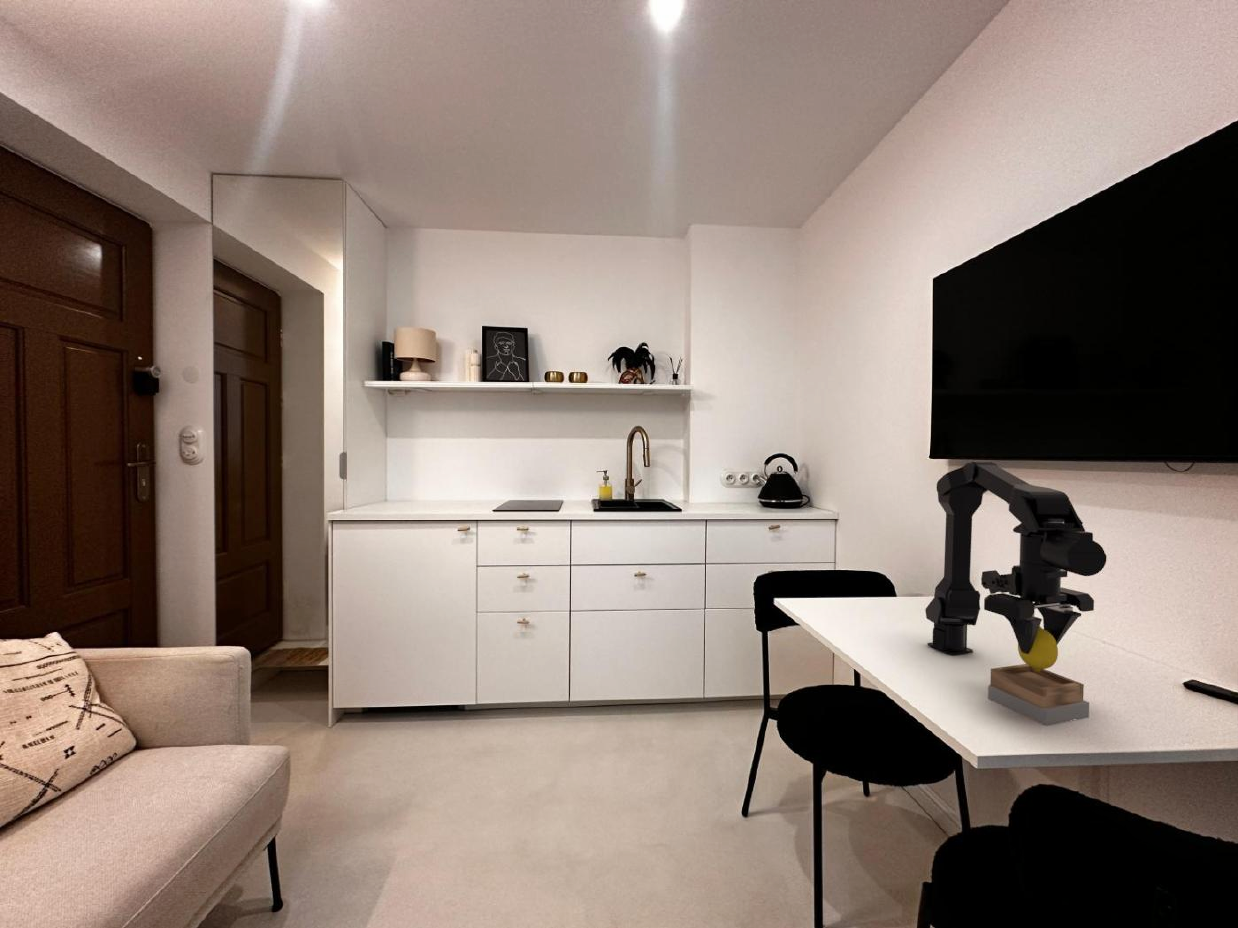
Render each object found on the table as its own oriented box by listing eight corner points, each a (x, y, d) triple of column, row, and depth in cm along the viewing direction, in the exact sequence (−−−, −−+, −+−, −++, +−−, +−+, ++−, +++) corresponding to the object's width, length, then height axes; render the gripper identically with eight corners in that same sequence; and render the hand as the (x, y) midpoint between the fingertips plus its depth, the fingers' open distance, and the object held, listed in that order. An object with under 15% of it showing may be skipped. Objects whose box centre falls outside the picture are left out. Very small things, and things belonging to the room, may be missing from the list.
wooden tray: (1028, 679, 100) (1029, 663, 100) (1083, 701, 91) (1083, 684, 91) (990, 684, 98) (990, 668, 97) (1042, 708, 89) (1042, 690, 89)
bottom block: (1028, 694, 101) (1028, 678, 100) (1088, 719, 91) (1089, 702, 91) (988, 701, 98) (988, 685, 97) (1046, 728, 88) (1046, 710, 88)
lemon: (1049, 667, 96) (1050, 622, 96) (1063, 679, 91) (1064, 632, 90) (1012, 663, 98) (1013, 619, 97) (1024, 675, 92) (1025, 629, 92)
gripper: (1031, 551, 104) (1029, 631, 104) (957, 556, 99) (955, 640, 99) (1097, 563, 93) (1094, 651, 94) (1018, 569, 88) (1015, 664, 88)
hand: (1037, 651), depth 94 cm, fingers closed on lemon, 5 cm apart
